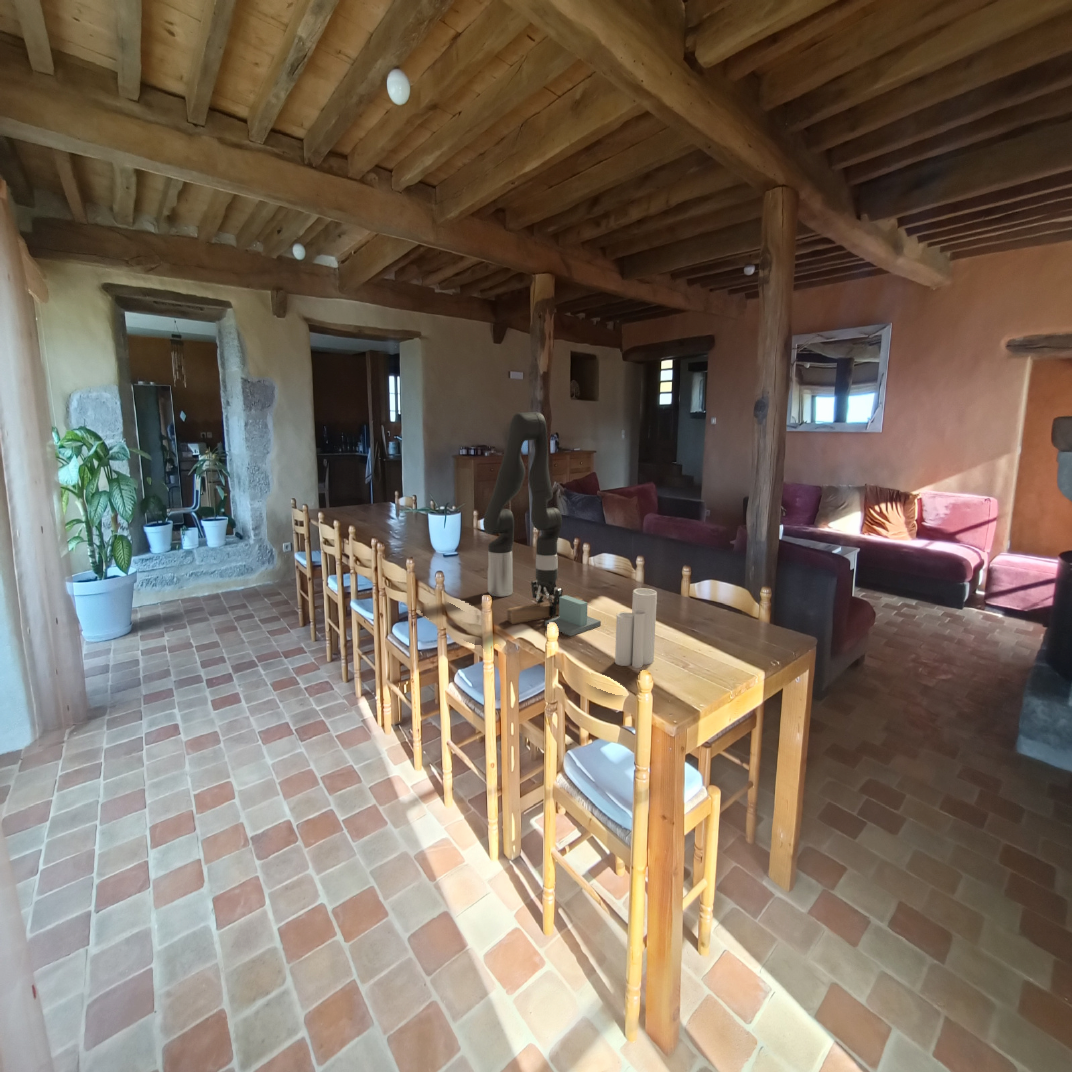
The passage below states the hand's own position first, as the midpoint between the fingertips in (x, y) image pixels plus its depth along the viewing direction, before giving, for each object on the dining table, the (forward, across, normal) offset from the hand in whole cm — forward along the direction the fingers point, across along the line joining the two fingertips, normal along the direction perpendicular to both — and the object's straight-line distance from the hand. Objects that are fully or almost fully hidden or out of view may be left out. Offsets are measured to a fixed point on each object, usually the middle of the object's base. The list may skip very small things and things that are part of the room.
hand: (546, 613), depth 188 cm
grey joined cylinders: (+1, +44, -6) cm, 44 cm away
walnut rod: (+1, 0, 0) cm, 1 cm away
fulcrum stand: (+1, +13, 0) cm, 13 cm away
